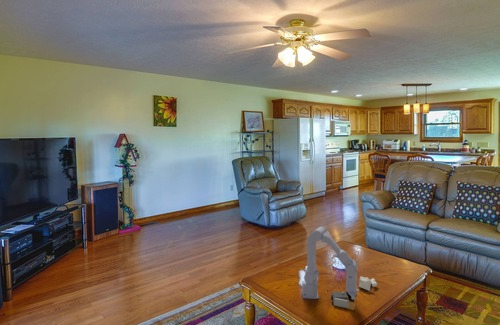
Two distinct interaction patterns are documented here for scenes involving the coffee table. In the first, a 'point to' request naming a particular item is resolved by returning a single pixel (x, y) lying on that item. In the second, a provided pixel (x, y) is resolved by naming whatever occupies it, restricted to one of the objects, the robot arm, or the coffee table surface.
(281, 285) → the coffee table surface
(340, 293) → the case
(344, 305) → the door
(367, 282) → the figurine
